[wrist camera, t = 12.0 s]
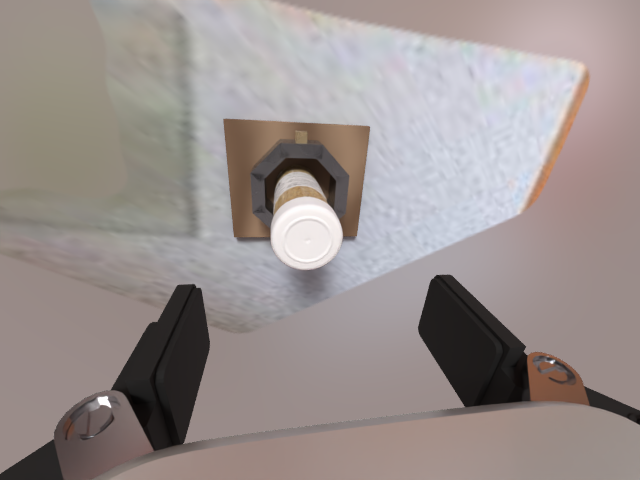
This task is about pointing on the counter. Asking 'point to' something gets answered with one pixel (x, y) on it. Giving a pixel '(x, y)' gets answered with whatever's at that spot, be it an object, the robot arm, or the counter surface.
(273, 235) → the sprinkles bottle
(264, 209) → the socket
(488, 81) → the counter surface
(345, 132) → the walnut board
